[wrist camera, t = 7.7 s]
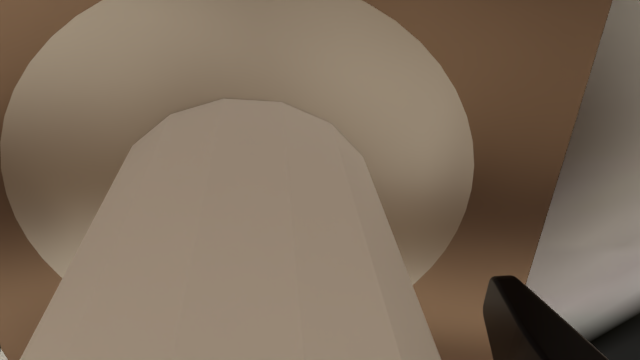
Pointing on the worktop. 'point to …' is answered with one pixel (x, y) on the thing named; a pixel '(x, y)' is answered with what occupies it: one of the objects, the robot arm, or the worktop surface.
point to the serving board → (313, 98)
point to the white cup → (237, 250)
